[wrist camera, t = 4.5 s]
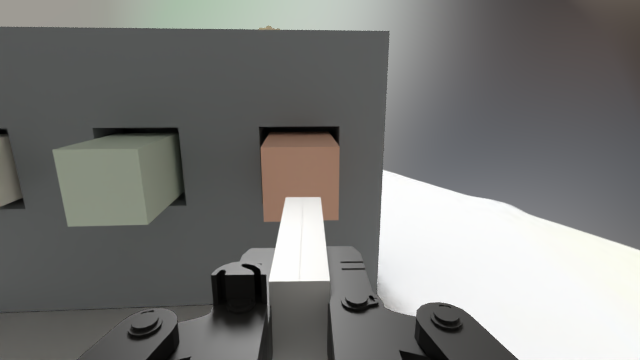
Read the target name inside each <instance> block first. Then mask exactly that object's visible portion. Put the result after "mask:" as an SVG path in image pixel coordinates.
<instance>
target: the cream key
mask: <svg viewBox="0 0 640 360" xmlns="http://www.w3.org/2000/svg"><path fill="white" fill-rule="evenodd" d="M21 198H23V195H22V191H21V187H20V183H19V178H18V174H17V170H16V165H15V161H14V157H13V153H12V148H11V144H10V140H9V136H8V134H0V207H1V206H4V205H6V204H8V203H11V202H13V201H16V200H18V199H21Z"/></svg>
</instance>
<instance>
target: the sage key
mask: <svg viewBox="0 0 640 360" xmlns="http://www.w3.org/2000/svg"><path fill="white" fill-rule="evenodd" d="M52 151H53V156H54V161H55V165H56V170H57V175H58V180H59V185H60V190H61V195H62V200H63V205H64V210H65V215H66V220H67V225H68V227H74V226H115V225H148V224H149V223H150V222H151V221H153V220H154V219H155V218H156V217H157V216H158V215H159V214H160V213H161V212H162V211H163V210H164V209H166V208H167V207H168V206H169V205H170V204H171V203H172V202H173V201H174V200H175V199H176V198H177V197H179V196H180V195H181V194H182V193H183V192H184V191H185V187H184V177H183V168H182V158H181V149H180V139H179V133H116V134H113V135H109V136H105V137H101V138H97V139H93V140H89V141H85V142H81V143H77V144H73V145H69V146H65V147H61V148H57V149H53V150H52Z"/></svg>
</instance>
